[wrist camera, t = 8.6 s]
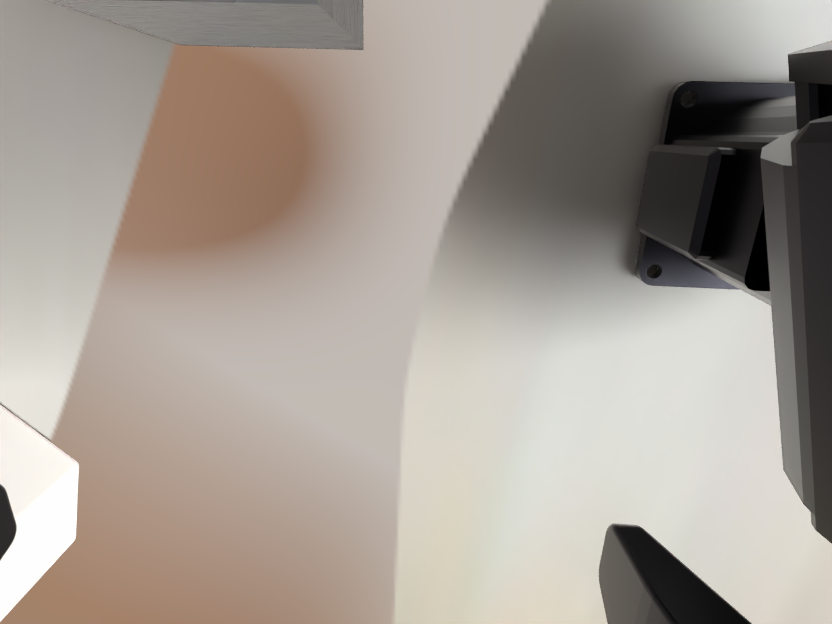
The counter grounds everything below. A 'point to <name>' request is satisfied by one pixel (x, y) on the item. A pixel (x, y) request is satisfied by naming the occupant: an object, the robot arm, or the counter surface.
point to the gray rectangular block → (237, 21)
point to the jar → (34, 506)
